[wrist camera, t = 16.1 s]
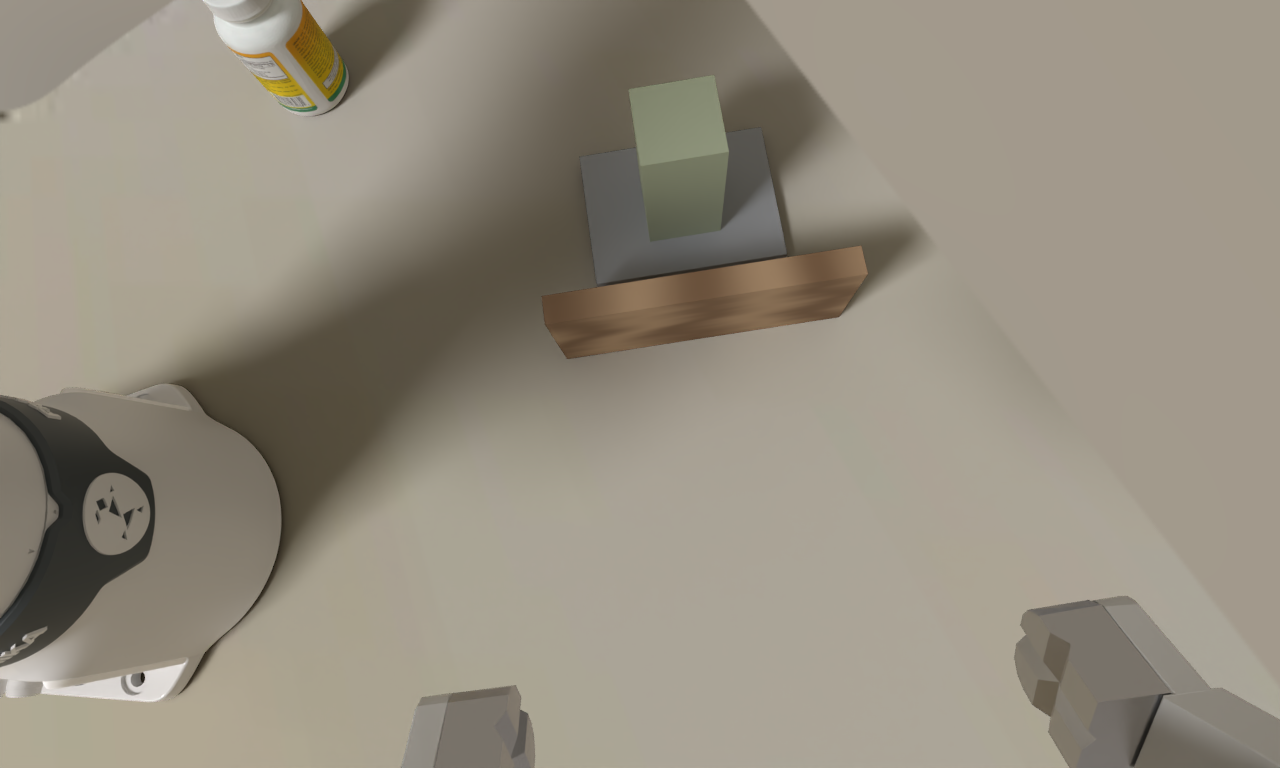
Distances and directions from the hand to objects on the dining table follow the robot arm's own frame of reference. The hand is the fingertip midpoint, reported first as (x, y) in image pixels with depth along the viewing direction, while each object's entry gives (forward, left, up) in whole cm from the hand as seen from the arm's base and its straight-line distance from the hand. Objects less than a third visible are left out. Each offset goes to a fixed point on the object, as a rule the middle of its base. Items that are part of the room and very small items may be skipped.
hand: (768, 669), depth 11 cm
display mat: (+2, +23, -29) cm, 37 cm away
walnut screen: (+2, +15, -29) cm, 33 cm away
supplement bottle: (-22, +37, -29) cm, 52 cm away
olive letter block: (+2, +23, -28) cm, 37 cm away
